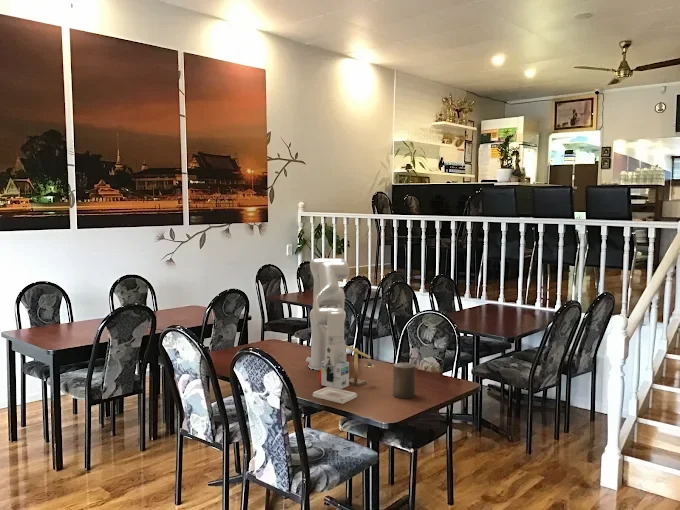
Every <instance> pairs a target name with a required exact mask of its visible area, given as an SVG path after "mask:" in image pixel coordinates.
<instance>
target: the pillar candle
mask: <svg viewBox="0 0 680 510" xmlns="http://www.w3.org/2000/svg"><path fill="white" fill-rule="evenodd" d="M392 378H393V379H392V380H393V382H392V386H393V387H392V395H393V397H395V398H399V399H411V398H412V397H413V398H414V397H415V396H416V394H415V393H416V364H414V363H411V362H405V361H404V362H396V363H393V377H392Z"/></svg>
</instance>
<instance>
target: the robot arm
mask: <svg viewBox="0 0 680 510" xmlns="http://www.w3.org/2000/svg"><path fill="white" fill-rule="evenodd" d="M309 268H310V269H309V270H310V272H311V274H312V277H313V290H312V291H313V293H312V295H313V296H312V297H313V298H312V299H313V302H312V309H311V310H310V312H309V321H310V331H311V336H310V338H311V339H310V342H311V343H310V344H311V345H310V346H311V347H310V348H311V349H310V351H311V352H310V355H311V356H310V357H309V356H307V357H306V359H305V363H309V364H308V366H307V368H308V367H309V368H310V370H312V369H314V370H313V371H320V369H321V362H322V361H324V360H325V363H324V365H323V367H324V368H325V370H326V372H327V381H329V382H333V373H332V372H333V367H336V364H338V363H341V362H344V361H346V362H347V360H348V359H347V355H346V352H347V348H346V346H345V345H346V341H345V321H346V318H347V316H346V315H347V314H346V311H345V291H344V289H343V288H342V287H340V285H339V280H347V279H348V278H349V276H350V266H349V264H348V262H347V261H346V260H345V258H339V257H338V258H337V257H336V258H335V257H333V258H332V257H331V258H330V257H329V258H328V257H327V258H325V257H320V258H319V257H318V258H312V259H311V261H310V262H309ZM329 363H331V365H329ZM329 367H331V370H330V368H329ZM309 368H308V369H309Z"/></svg>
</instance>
